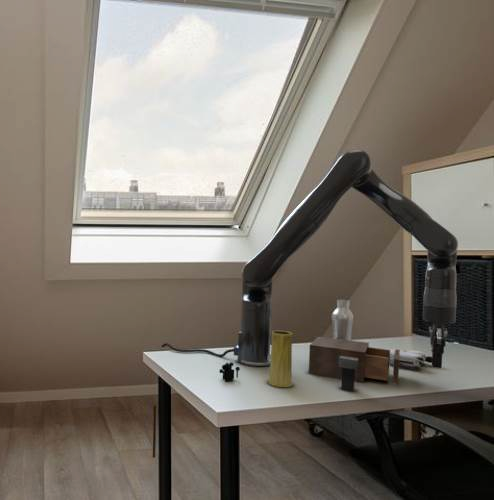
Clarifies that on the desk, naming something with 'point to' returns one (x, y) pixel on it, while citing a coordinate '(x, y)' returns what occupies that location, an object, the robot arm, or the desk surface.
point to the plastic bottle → (342, 320)
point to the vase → (281, 359)
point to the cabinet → (336, 356)
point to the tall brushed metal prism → (348, 372)
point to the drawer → (384, 364)
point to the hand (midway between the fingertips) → (436, 367)
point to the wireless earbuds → (228, 372)
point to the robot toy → (411, 357)
